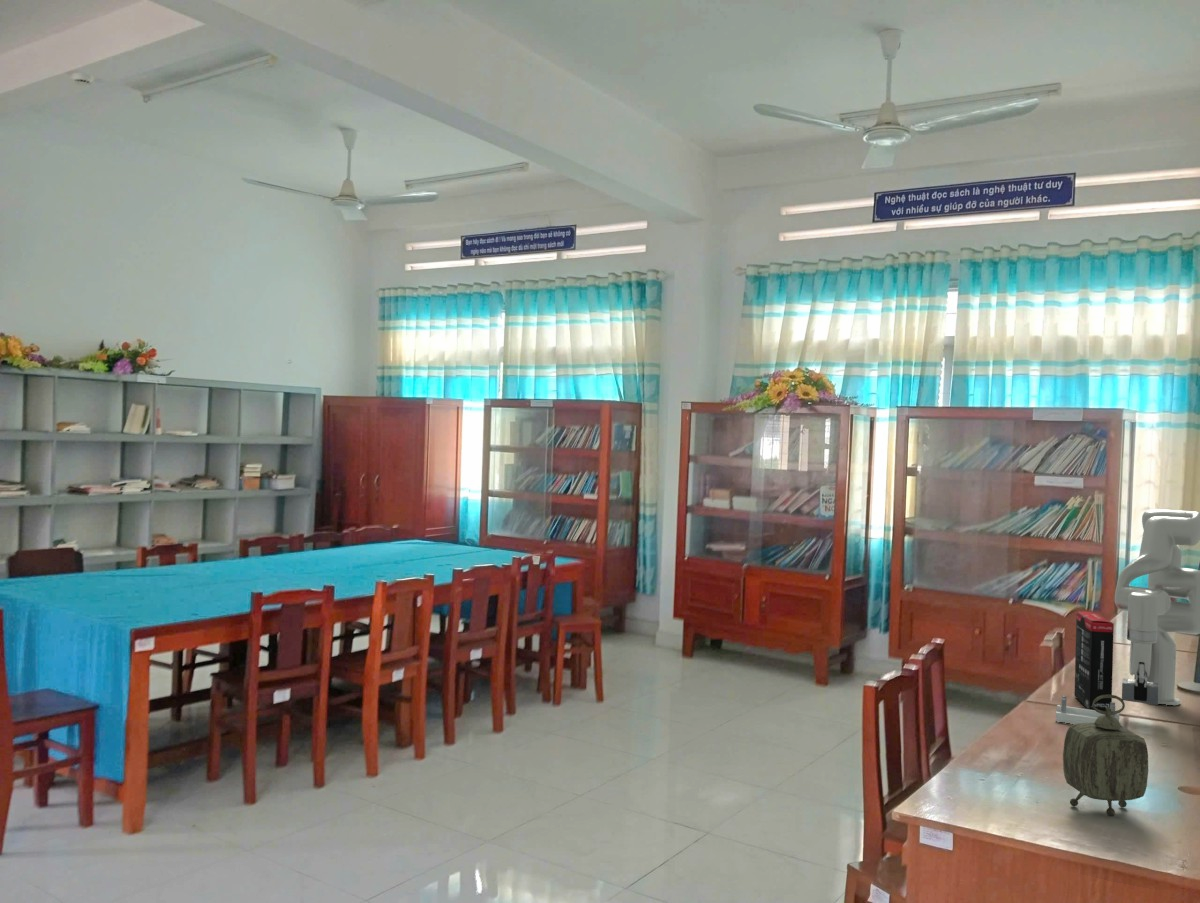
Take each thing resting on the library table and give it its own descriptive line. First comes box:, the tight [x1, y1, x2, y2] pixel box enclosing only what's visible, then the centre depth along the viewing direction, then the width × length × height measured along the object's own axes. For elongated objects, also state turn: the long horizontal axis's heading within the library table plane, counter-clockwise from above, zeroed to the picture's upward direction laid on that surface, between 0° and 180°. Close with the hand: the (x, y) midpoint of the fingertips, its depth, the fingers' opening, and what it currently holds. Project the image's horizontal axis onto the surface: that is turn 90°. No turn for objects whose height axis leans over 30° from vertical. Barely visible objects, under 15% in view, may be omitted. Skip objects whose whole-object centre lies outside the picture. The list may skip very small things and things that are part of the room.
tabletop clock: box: [1062, 694, 1149, 817], centre depth 205 cm, size 14×9×25 cm, turn 92°
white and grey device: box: [1055, 695, 1121, 725], centre depth 275 cm, size 11×16×6 cm
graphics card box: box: [1073, 610, 1115, 711], centre depth 294 cm, size 17×7×27 cm, turn 168°
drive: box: [1121, 678, 1159, 706], centre depth 278 cm, size 6×9×5 cm, turn 59°
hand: (1139, 696), depth 278 cm, fingers closed on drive, 5 cm apart
